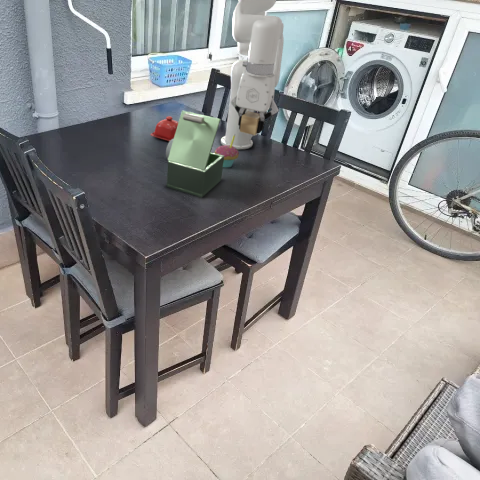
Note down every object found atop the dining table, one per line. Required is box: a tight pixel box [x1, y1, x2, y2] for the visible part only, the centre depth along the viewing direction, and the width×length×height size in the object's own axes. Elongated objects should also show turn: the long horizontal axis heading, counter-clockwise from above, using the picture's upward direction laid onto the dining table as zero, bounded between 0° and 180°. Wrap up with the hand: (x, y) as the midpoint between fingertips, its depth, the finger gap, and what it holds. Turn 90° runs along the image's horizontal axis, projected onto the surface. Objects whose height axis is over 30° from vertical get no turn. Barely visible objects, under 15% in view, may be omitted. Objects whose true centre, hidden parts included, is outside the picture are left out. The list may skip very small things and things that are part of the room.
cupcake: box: [214, 135, 240, 168], centre depth 157 cm, size 9×8×12 cm
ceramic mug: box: [165, 139, 174, 160], centre depth 160 cm, size 11×8×8 cm
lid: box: [167, 110, 221, 171], centre depth 133 cm, size 16×13×6 cm
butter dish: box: [150, 115, 179, 142], centre depth 178 cm, size 12×12×8 cm
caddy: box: [166, 151, 224, 198], centre depth 145 cm, size 15×13×9 cm
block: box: [240, 111, 260, 136], centre depth 135 cm, size 5×5×5 cm
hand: (250, 129), depth 136 cm, fingers closed on block, 5 cm apart
